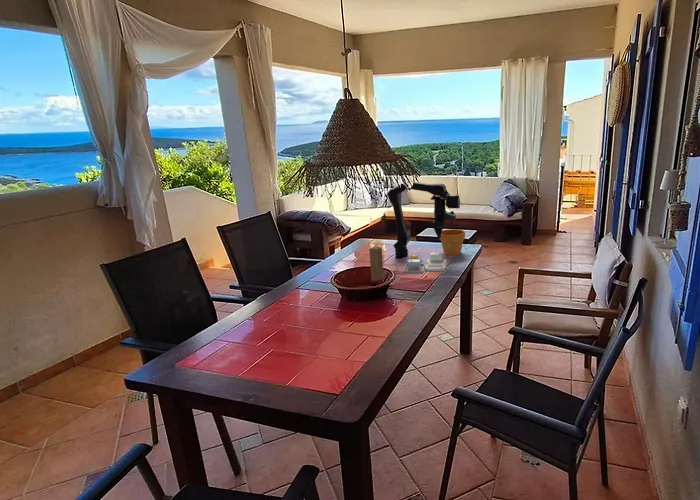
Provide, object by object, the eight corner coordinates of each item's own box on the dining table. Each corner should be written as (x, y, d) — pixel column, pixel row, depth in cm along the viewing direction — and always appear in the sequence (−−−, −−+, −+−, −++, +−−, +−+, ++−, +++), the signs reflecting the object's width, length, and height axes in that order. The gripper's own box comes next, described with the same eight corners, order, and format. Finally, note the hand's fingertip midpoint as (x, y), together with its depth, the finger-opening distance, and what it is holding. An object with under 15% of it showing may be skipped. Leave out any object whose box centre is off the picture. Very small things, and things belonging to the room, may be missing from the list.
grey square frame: (407, 265, 229) (406, 261, 229) (408, 261, 236) (408, 257, 235) (420, 265, 227) (420, 261, 227) (421, 261, 234) (421, 257, 233)
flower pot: (459, 259, 233) (458, 236, 230) (435, 256, 242) (434, 234, 238) (469, 252, 244) (469, 230, 240) (446, 250, 252) (445, 228, 249)
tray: (402, 274, 216) (402, 271, 215) (406, 266, 228) (406, 263, 227) (422, 274, 213) (422, 271, 212) (425, 266, 225) (425, 263, 225)
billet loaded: (430, 263, 226) (430, 254, 224) (431, 261, 229) (431, 252, 228) (442, 264, 224) (442, 254, 223) (442, 261, 228) (442, 252, 226)
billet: (407, 271, 219) (407, 261, 218) (409, 268, 223) (408, 259, 222) (419, 271, 218) (419, 261, 216) (420, 268, 221) (420, 259, 220)
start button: (410, 262, 230) (410, 256, 229) (411, 260, 233) (411, 254, 232) (417, 262, 229) (417, 256, 228) (418, 260, 232) (417, 254, 231)
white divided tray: (424, 272, 216) (424, 268, 216) (428, 262, 232) (427, 258, 231) (444, 272, 213) (444, 268, 213) (446, 262, 229) (446, 258, 228)
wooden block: (392, 284, 204) (390, 247, 199) (388, 287, 200) (386, 250, 195) (375, 282, 208) (373, 246, 204) (371, 285, 205) (368, 248, 200)
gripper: (454, 211, 217) (454, 241, 221) (455, 204, 235) (455, 232, 239) (432, 211, 220) (432, 240, 224) (435, 204, 237) (435, 232, 242)
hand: (439, 236), depth 232 cm, fingers open, 9 cm apart
